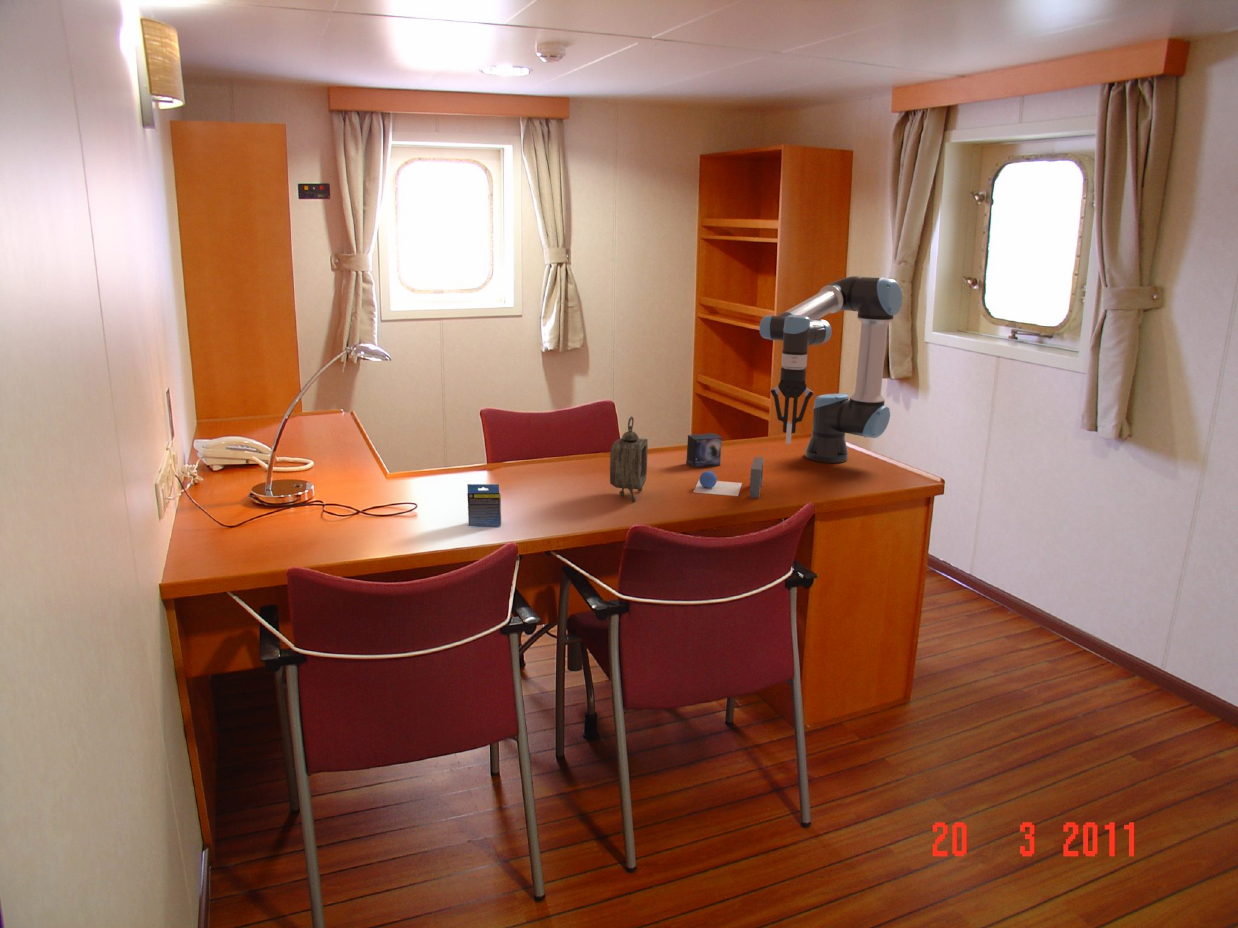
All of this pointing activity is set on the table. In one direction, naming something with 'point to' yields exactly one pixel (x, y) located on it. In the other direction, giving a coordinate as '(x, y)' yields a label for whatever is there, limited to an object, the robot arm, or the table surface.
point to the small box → (704, 450)
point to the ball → (708, 479)
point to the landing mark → (720, 488)
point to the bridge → (756, 477)
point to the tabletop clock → (629, 462)
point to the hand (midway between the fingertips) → (788, 442)
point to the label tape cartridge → (484, 505)
